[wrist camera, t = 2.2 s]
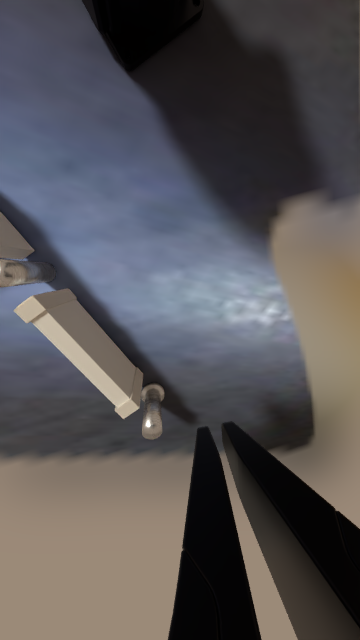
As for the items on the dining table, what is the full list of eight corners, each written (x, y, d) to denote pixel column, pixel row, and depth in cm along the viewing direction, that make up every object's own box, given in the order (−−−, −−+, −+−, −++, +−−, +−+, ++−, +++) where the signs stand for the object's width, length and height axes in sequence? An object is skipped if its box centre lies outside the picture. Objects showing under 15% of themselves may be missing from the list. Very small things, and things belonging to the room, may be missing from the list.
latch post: (155, 378, 20) (155, 413, 15) (168, 393, 20) (172, 432, 15) (136, 391, 20) (130, 430, 15) (150, 406, 20) (148, 448, 16)
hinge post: (46, 258, 15) (-3, 253, 11) (60, 274, 16) (19, 276, 11) (31, 269, 16) (-25, 269, 11) (45, 285, 16) (-2, 292, 11)
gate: (53, 297, 16) (12, 308, 11) (67, 287, 16) (31, 294, 11) (131, 383, 19) (124, 419, 14) (144, 374, 19) (140, 409, 14)
